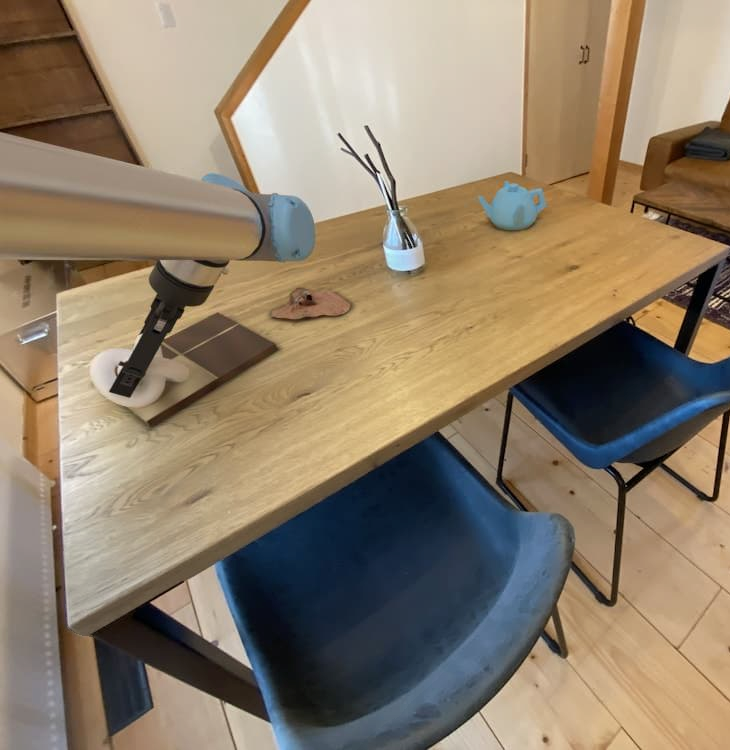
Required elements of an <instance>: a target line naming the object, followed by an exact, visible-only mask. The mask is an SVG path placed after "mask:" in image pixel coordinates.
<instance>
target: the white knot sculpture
mask: <svg viewBox="0 0 730 750" xmlns="http://www.w3.org/2000/svg"><path fill="white" fill-rule="evenodd" d="M139 334H140V333H139ZM139 334H138V335H139ZM142 334H143V333H142ZM142 334H140V335H139V336H138V335H137V336H136V338H135V340H134V342H133V344H134V346H132V347H133V348H132V349H129V348H122V347H113V348H108V349H104V350H103V351H101V352H99V353H97V354H96V355H95V356H94V357H93V358H92V360H91V362H90V364H89V377H90V380H91V382H92V384H93V386H94V388H95V389H96V390H97V391H98V392H99V393H100V394H101V395H102V396H103V397H104V398H106V400H108V401H110V402H112V403H114V404H117V405H119V406H122V407H126V408H127V407H144V406H147V405H150V404H152V403H153V402H155V401H156V400H157V399H158V398H159V397H160V395H161V394H162V392H163V390H164V387H165V380H166V381H170V382H183V381H185V380H186V379H188V377H189V375H190V372H189V369H188V368H187V367H186V366H185V365H184V364H182V363H180V362H177V361H174V360H170V359H167V358H163V356H162V349H161V345H160V347H159V349H158V351H157V353H156V354H155V356H154V358H153V360H152V362H151V363H150V365H149V367H148V369H147V371H146V375H145V376H144V377H143V378H142V379H141V380H140V382H139V384H138V385H137V387H136V389H135V390H134V392H133V394H132V395H131V397H130V398H128V397H124V396H121V395H117V394H114V393H110V392H109V390H110V389H111V387H112V385H113V383H114V381H115V380H116V378H117V376H116V374H115V368H116V367H117V366H119V365H118V364H119V363H120V361H122V362H126V361H128V359H129V358H130V356H131V354H132V352H133V350H134V348H135V347H136V345H137V343H138V341H139V339H140V337H141V336H142ZM121 369H122V366H119V367H118V370H117V372H118V374H119V373H120V371H121Z"/></svg>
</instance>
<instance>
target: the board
mask: <svg viewBox="0 0 730 750" xmlns="http://www.w3.org/2000/svg"><path fill="white" fill-rule="evenodd" d="M161 349H162V356H163V358H167V359H170V360H174V361H177V362H180V363H182V364H184V365H185V366H186V367H187V368H188V369H189V372H190V375H189V377H188V379H186V380H185V381H183V382H170V381H166V380H165V387H164V390H163V392H162V394H161V395H160V397H159V398H158V399H157V400H156V401H155V402H153V403H152V404H150V405H147V406H144V407H126V409H128V410H130V412H131V413H133V414H134V415H136V416H137V417H138V418H139V419H140V420H141V421H143V422H144V423H145V424H146V425H147V426H149V427H150V428H153V427H155V426H157V425H158V424H160V423H161V422H163V421H165V420H167V419H168V418H170V417H171V416H172V415H173V416H174V414H176V413H178V412H179V411H181V410H183V409H184V408H185V407H187V406H189V405H190V404H192V403H194V402H196V401H197V400H199V399H200V398H202V397H203V396H206V395H207V394H208V393H210V392H212V391H213V390H215V389H217V388H219V387H220V386H222V385H223V384H224V383H226V382H228V381H229V380H231V379H233V378H234V377H236V376H237V375H239V374H241V373H242V372H244V371H246V370H247V369H250V367H252V366H254V365H256V364H257V363H259V362H260V361H262V360H264V359H265V358H267V357H268V356H270V355H272V354H273V353H274V352H276V351H278V350H279V349H278V346H277V344H276V343H275V342H273V341H271V340H269V339H268V338H266V337H264V336H262V335H260V334H258V333H257V332H255V331H253V330H251V329H250V328H248V327H246V326H245V325H242V324H241V323H239V322H236V321H234V320H233V319H231V318H229V317H227V316H226V315H224V314H222V313H220V312H214V313H213V314H211V315H209V316H207V317H205V318H203V319H200V320H199V321H197V322H195V323H193V324H192V325H191V324H190V326H187V327H185V328H184V329H181V330H179V331H177V332H176V333H174V334H172V335H169V336H168V337H165V338H164V340H163V342H162V344H161ZM118 367H119V366H117V367H116V368H115V374H116V376H118V372H117V370H118Z"/></svg>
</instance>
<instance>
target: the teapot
mask: <svg viewBox="0 0 730 750" xmlns="http://www.w3.org/2000/svg"><path fill="white" fill-rule="evenodd" d="M536 196H537V198H538V202H535V200H534V198H533V197H536ZM477 199H478V201H479V203H480V205H481V206H482V208H483V210H484V211H485V213H486V215H487V217H488V219H489V220H490V222H491V223H492V224H493V225H494V226H495V227H496V228H498V229H501V230H504V231H522V230H525V229H527V228H530V227H531V226H532V225H533V224H534V223H535V222H536V220H537V219H538V215H539V213H541V211H542V210H543V209H544V208H546V207H547V201H546V198H545V195H544V191H543V188H542V187H539V188H535V189H531V190H528V189H527V188H525V187H524V186H519V184H518V183H513V182H512V183H510V181H509V180H504V184H503V187H501V188H500V189H498V191H497V192H496V194H495V196H494V198H493V199H492V202H491V203H490V204H489V203H488V202H487V200H486V199H485V197H484V196H483V195H478V196H477Z"/></svg>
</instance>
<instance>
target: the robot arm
mask: <svg viewBox="0 0 730 750" xmlns="http://www.w3.org/2000/svg"><path fill="white" fill-rule="evenodd" d="M316 235H317V234H316V225H315V220H314V217H313V214H312V212H311V210H310V208H309V206H308V205H307V204H306V202H304V200H302V199H301V197H300V198H299V197H298V196H295V195H290V194H289V195H288V194H287V195H286V194H279V193H277V192H272V193H255V192H251V191H249V190H248V189H247V188H246V187H245V186H243V185H242V184H241V183H239V182H238V181H236V180H234V179H232V178H230V177H228V176H226V175H223V174H220V173H215V172H209V173H207V174H204V175H203V177H202V178H201V179H200V180H199V179H196V178H192V177H188V176H184V175H179V174H177V173H176V174H175V173H171V172H167V171H163V170H159V169H155V168H151V167H147V166H143V165H138V164H134V163H129V162H125V161H121V160H118V159H113V158H109V157H105V156H100V155H96V154H93V153H88V152H84V151H81V150H75V149H72V148H67V147H64V146H59V145H54V144H51V143H47V142H43V141H38V140H34V139H30V138H26V137H22V136H18V135H14V134H10V133H6V132H1V131H0V261H133V262H143V261H149V262H150V261H153V262H156V263H155V264H154V266H153V268H152V270H151V272H150V274H149V276H148V283H149V285H150V287H151V288H152V290H153V291H154V292H155V293H156V295H155V296H154V299H153V301H152V302H151V304H150V310H149V313H148V314H147V316H146V318H145V319H144V322H143V323H144V324H143V327H142V328H141V330H140V332H139V333H138V335H137V337H138V336H139V335H140V334H142V333H143V334H142V336H141V337H140V339H139V341H138V343H137V345H136V347H135V348H134V350H133V349H132V350H133V352H132V354H131V356H130V358H129V359H128V361H126V362H122V361H120V363H119V364H118V365H119V366H122V369H121V371H120V373H119V374H118V376H117V378H116V380H115V381H114V383H113V385H112V387H111V389H110V390H109V392H110V393H114V394H117V395H121V396H124V397H128V398H130V397H131V395H132V394H133V392H134V390H135V389H136V387H137V385H138V384H139V382H140V380H141V379H142V378H143V377H144V376H145V375H146V371H147V369H148V367H149V365H150V363H151V362H152V360H153V358H154V356H155V354H156V353H157V351H158V349H159V347H160V345H161V344H162V342H163V340H164V339H166V337H167V335H168V334H171V332H172V331H173V329H174V327H175V325H176V323H177V321H178V320H179V319H181V318H182V316H183V315H184V313H185V310H186V309H185V308H186V307H190V308H191V307H193V308H194V307H200V306H202V305H203V304H204V303H206V301H207V299H208V298H209V296H210V295H211V293H212V291H213V290H214V287H215V285H216V284H217V282H218V281H219V280H220V278H221V276H222V274H223V275H228V274H229V272H230V271H229V269H228V268H226V267H227V266H228V265H229V263H230V261H239V262H243V261H244V262H247V261H248V262H252V261H253V262H259V261H260V262H276V263H286V262H302V261H305V260H307V259H308V258H309V257H310V256H311V255H312V253H313V252H314V248H315V244H316ZM132 347H134V343H133V344H132Z"/></svg>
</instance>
